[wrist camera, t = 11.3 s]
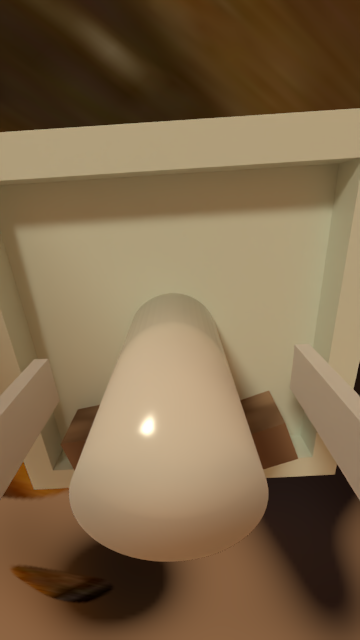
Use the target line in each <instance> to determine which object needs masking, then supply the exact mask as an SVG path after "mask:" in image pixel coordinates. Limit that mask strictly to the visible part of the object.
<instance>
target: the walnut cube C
mask: <svg viewBox="0 0 360 640" xmlns="http://www.w3.org/2000/svg"><path fill="white" fill-rule="evenodd" d="M240 401H241V404H242V407H243V410H244V413H245V416H246V420H247V423H248V426H249V429H250V432H251V435H252V438H253V441H254V444H255V447H256V450H257V453H258V456H259V459H260V462H261V465H262V468H263V469H267V468H270V467H273V466H276V465H280V464H283V463H286V462H290V461H293V460H296V459H298V456H297V454H296V451H295V448H294V445H293V443H292V440H291V437H290V434H289V432H288V429H287V426H286V424H285V421H284V419H283V417H282V415H281V413H280V411H279V409H278V407H277V405H276V403H275V401H274V399H273V397H272V395H271V393H270V391H266V392H263V393H260V394H257V395H254V396H251V397H248V398H245V399H243V400H240Z"/></svg>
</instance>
